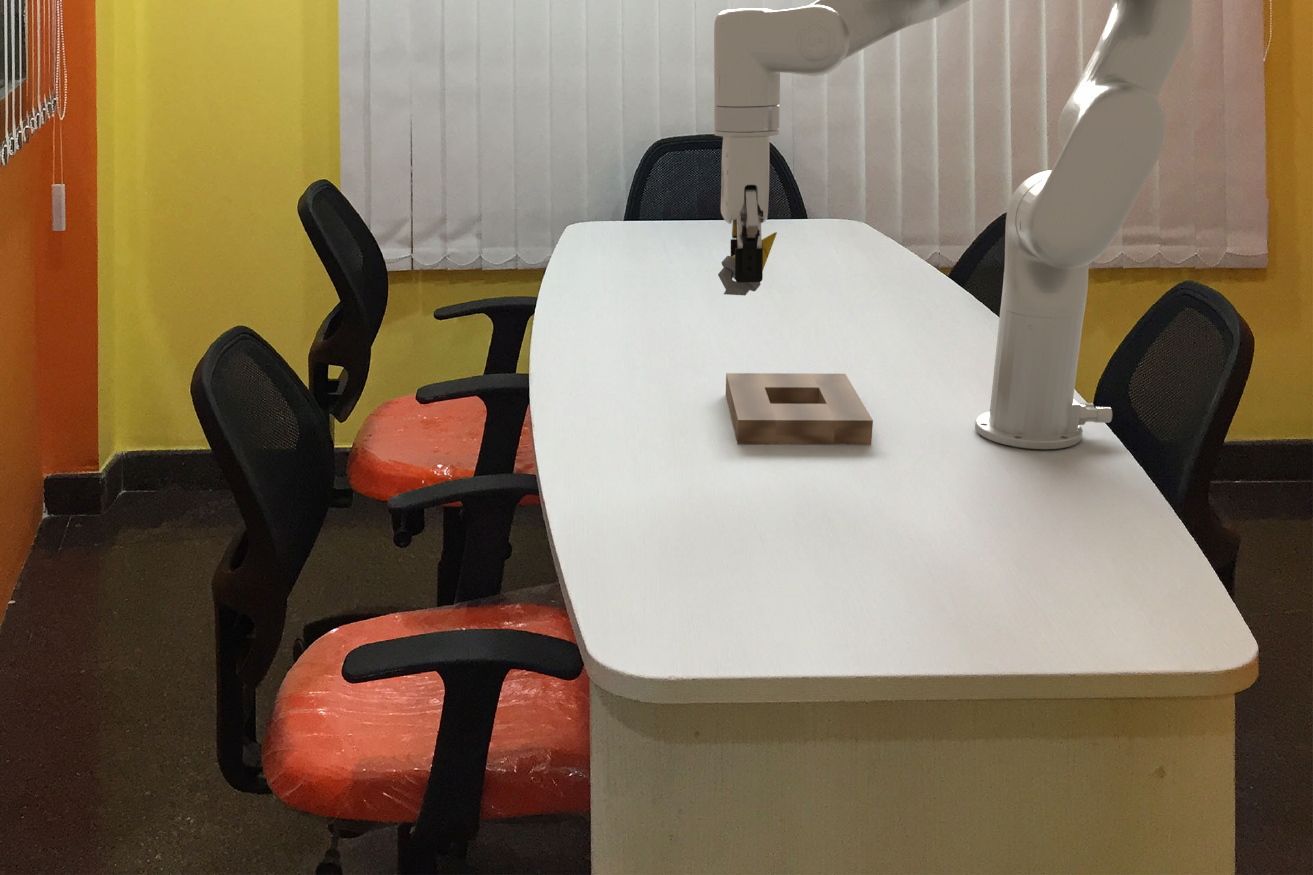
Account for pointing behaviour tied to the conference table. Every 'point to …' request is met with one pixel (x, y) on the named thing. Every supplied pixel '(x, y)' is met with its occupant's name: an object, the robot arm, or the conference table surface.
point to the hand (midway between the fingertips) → (746, 275)
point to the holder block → (796, 409)
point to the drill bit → (729, 271)
